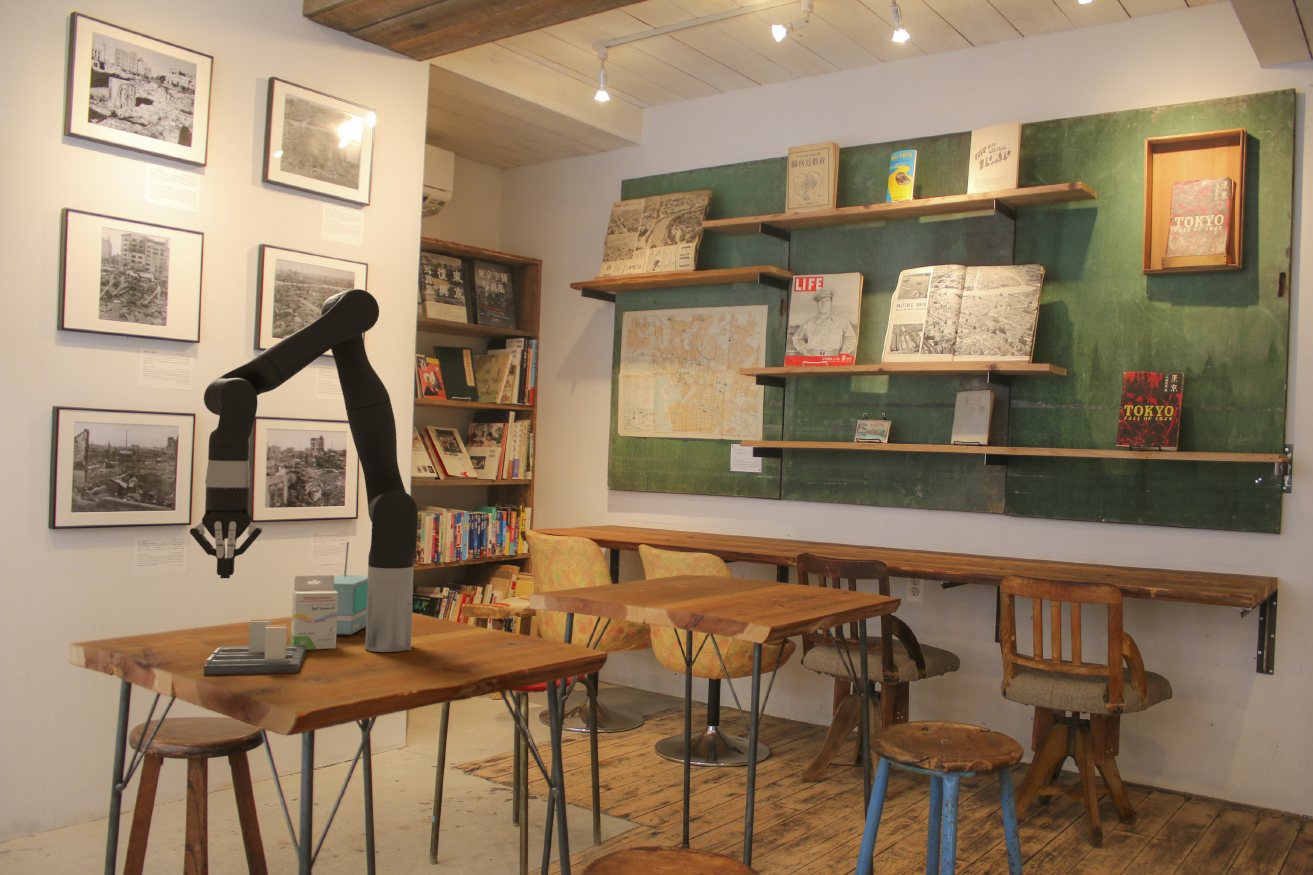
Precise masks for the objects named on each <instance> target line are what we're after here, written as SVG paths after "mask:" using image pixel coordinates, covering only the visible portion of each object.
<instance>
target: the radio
mask: <svg viewBox="0 0 1313 875" xmlns="http://www.w3.org/2000/svg"><path fill="white" fill-rule="evenodd" d="M349 545H350V541H347V542H346V550H345V563H344V574H341V575H338V576H334V590H335V591H337V592H338V615H337V633H336V637H346V638H347V637H352V636H353V634H355V633H356V632H358V631H360V630H362V629H366V612H367V587H368V575H352V574H350V575H349V574H347V569H348V567H347V566H348V554H349ZM318 584H321V581H319V583H318Z"/></svg>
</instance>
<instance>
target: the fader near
mask: <svg viewBox="0 0 1313 875" xmlns="http://www.w3.org/2000/svg"><path fill="white" fill-rule="evenodd" d="M287 642H288V624H271V625H267V627H266V635H265V659H285V658H286V649H287V644H288V643H287Z"/></svg>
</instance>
